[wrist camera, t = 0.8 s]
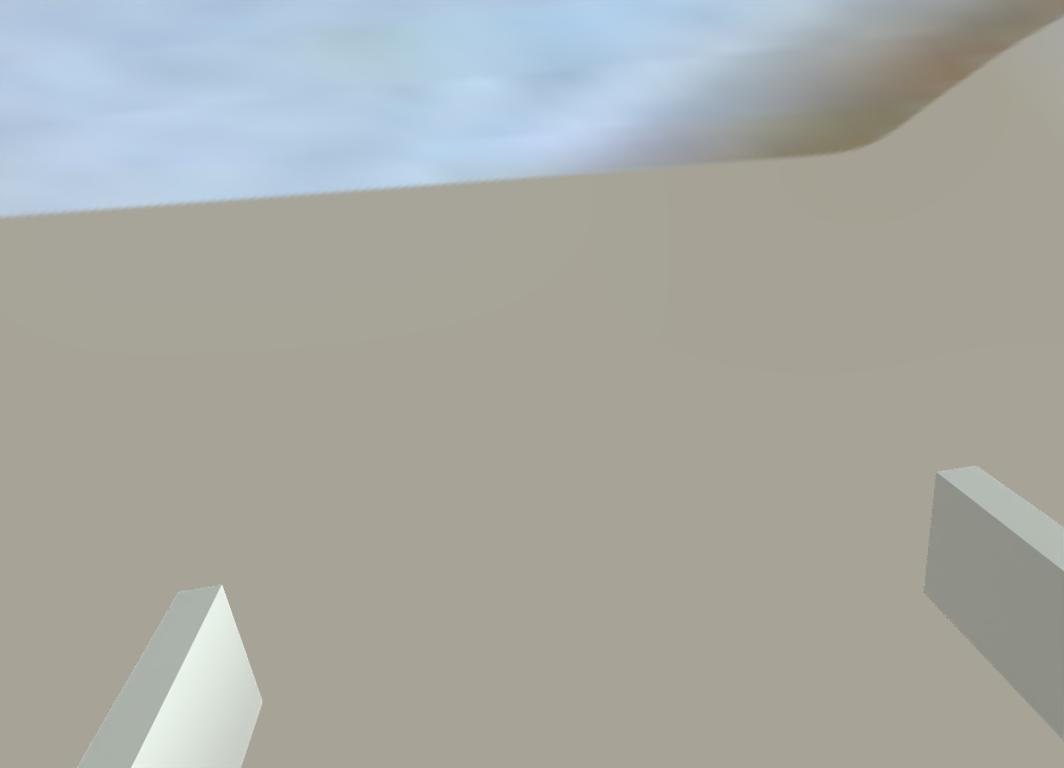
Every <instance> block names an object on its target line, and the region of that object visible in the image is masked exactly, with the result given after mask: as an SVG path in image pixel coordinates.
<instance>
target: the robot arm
mask: <svg viewBox="0 0 1064 768" xmlns="http://www.w3.org/2000/svg"><path fill="white" fill-rule="evenodd" d="M924 593H925V594H926V596H927V597H928V598H929V599H930V600H931V601H932V602H933V603H934V604H935V605H936V606H937V607H938V608H939V609H940V610H941V611H942V612H943V614H944V615H945V616H946V617H947V618H948V619H949V620H950V621H951V622H952V623H953V624H954V625H955V626H956V627H957V628H958V629H959V630H960V632H961V633H962V634H963V635H964V636H965V637H966V638H967V639H968V640H969V641H970V642H971V643H972V644H973V645H974V646H975V647H976V648H977V649H978V650H979V652H980V653H981V654H982V655H983V656H984V657H985V658H986V659H987V660H988V661H989V662H990V663H991V664H992V665H993V666H994V668H995V669H996V670H997V671H998V672H999V673H1000V674H1001V675H1002V676H1003V677H1004V678H1005V679H1006V680H1007V681H1008V682H1009V683H1010V684H1011V686H1012V687H1014V689H1015V690H1016V691H1017V692H1018V693H1019V694H1020V695H1021V696H1022V697H1023V698H1024V699H1025V700H1026V701H1027V703H1028V704H1030V706H1031V707H1032V708H1033V709H1034V710H1035V711H1036V712H1037V713H1038V714H1039V715H1040V716H1041V717H1042V718H1043V719H1044V721H1046V723H1047V724H1048V725H1049V726H1050V727H1051V728H1052V729H1053V730H1054V731H1055V732H1056V733H1057V734H1058V735H1059V736H1060V738H1061V739H1062V740H1063V741H1064V527H1063V526H1061V525H1060V524H1058V523H1057V522H1056V521H1054V520H1053V519H1051V518H1050V517H1048V516H1047V515H1046V514H1044V513H1043V512H1041V511H1040V510H1038V509H1037V508H1036V507H1034V506H1033V505H1031V504H1030V503H1029V502H1027V501H1026V500H1024V499H1023V498H1022V497H1020V496H1019V495H1017V494H1016V493H1014V492H1013V491H1012V490H1010V489H1009V488H1007V487H1006V486H1005V485H1003V484H1002V483H1000V482H999V481H997V480H996V479H994V478H993V477H992V476H990V475H989V474H987V473H986V472H985V471H983V470H982V469H980V468H979V467H978V466H970V467H964V468H957V469H951V470H945V471H939V472H936V479H935V489H934V498H933V509H932V518H931V528H930V537H929V547H928V557H927V567H926V576H925V586H924ZM262 702H263V701H262V698H261V695H260V692H259V689H258V687H257V684H256V681H255V678H254V675H253V672H252V670H251V667H250V664H249V661H248V658H247V655H246V652H245V649H244V647H243V644H242V641H241V638H240V635H239V632H238V629H237V626H236V624H235V621H234V618H233V615H232V612H231V609H230V606H229V604H228V601H227V598H226V595H225V592H224V590H223V586H222V585H216V586H210V587H203V588H198V589H191V590H184V591H178V593H177V595H176V597H175V598H174V600H173V602H172V603H171V605H170V607H169V608H168V610H167V612H166V614H165V615H164V617H163V619H162V621H161V622H160V624H159V626H158V628H157V629H156V631H155V633H154V634H153V636H152V638H151V640H150V642H149V643H148V645H147V647H146V648H145V650H144V652H143V654H142V655H141V657H140V659H139V660H138V662H137V664H136V666H135V667H134V669H133V671H132V673H131V674H130V676H129V678H128V680H127V681H126V683H125V685H124V686H123V688H122V690H121V692H120V693H119V695H118V697H117V699H116V701H115V702H114V704H113V706H112V707H111V709H110V711H109V713H108V714H107V716H106V718H105V719H104V721H103V723H102V725H101V726H100V728H99V730H98V732H97V733H96V735H95V737H94V739H93V740H92V742H91V744H90V745H89V747H88V749H87V751H86V752H85V754H84V756H83V758H82V759H81V761H80V763H79V764H78V766H77V768H241V766H242V763H243V760H244V756H245V754H246V751H247V748H248V745H249V741H250V739H251V736H252V733H253V729H254V727H255V723H256V720H257V717H258V714H259V711H260V708H261V705H262Z"/></svg>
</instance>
